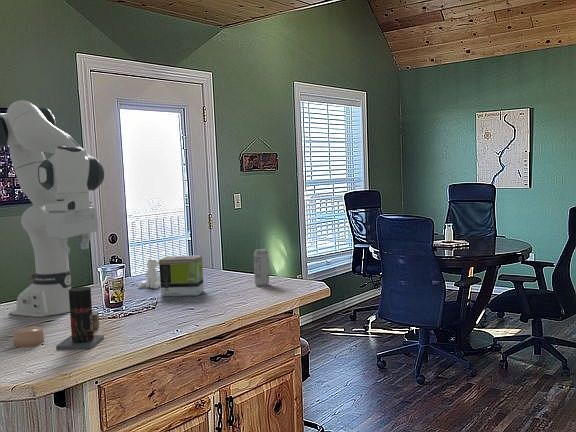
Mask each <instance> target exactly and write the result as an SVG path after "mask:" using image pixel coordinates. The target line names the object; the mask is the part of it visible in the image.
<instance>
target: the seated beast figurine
mask: <svg viewBox="0 0 576 432" xmlns="http://www.w3.org/2000/svg"><path fill="white" fill-rule="evenodd" d="M146 266H147V270H146V273H145V276H146V279H145V280H143V281H141V282H139V283H138V284H137V288H138V289H143V288H145V289H146V288H149V287H150V288H151V289H155V290H156V289H159V288H160V286H161V284H160V275H158V274H159V273H158V270H157V268H158V266H159V261H157V259H154V258H149V259H147V263H146ZM150 288H149V289H150Z"/></svg>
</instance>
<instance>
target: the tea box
mask: <svg viewBox="0 0 576 432" xmlns="http://www.w3.org/2000/svg"><path fill="white" fill-rule="evenodd" d="M158 262H159V265H158V266H159V279H160V295H161V297H174V296H176V297H177V296H180V297H181V296H199V295H201V293H203V292H204V273H203V271H204V270H203V256H202V255H197V254H196V255H171V256H169V255H168V256H165V257H163V258H160V259H159V260H158Z"/></svg>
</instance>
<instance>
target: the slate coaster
mask: <svg viewBox="0 0 576 432" xmlns="http://www.w3.org/2000/svg"><path fill="white" fill-rule="evenodd" d="M93 336H94V339H93V340H92V341H89V342H85V343H73V342H72V335H69V336H68V337H67V338H65V339H64V340H62V341H60V343H58V344H57V345H56V346H55V349H56V350H92V349H93V348H95V347H96V345H98V344H99V343H100V342H101V341H103V340H105V334H93Z"/></svg>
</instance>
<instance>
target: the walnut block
mask: <svg viewBox="0 0 576 432" xmlns="http://www.w3.org/2000/svg"><path fill="white" fill-rule="evenodd" d="M92 320H93V331H99V328H100V316H99V310H95V311H93V310H92Z"/></svg>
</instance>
